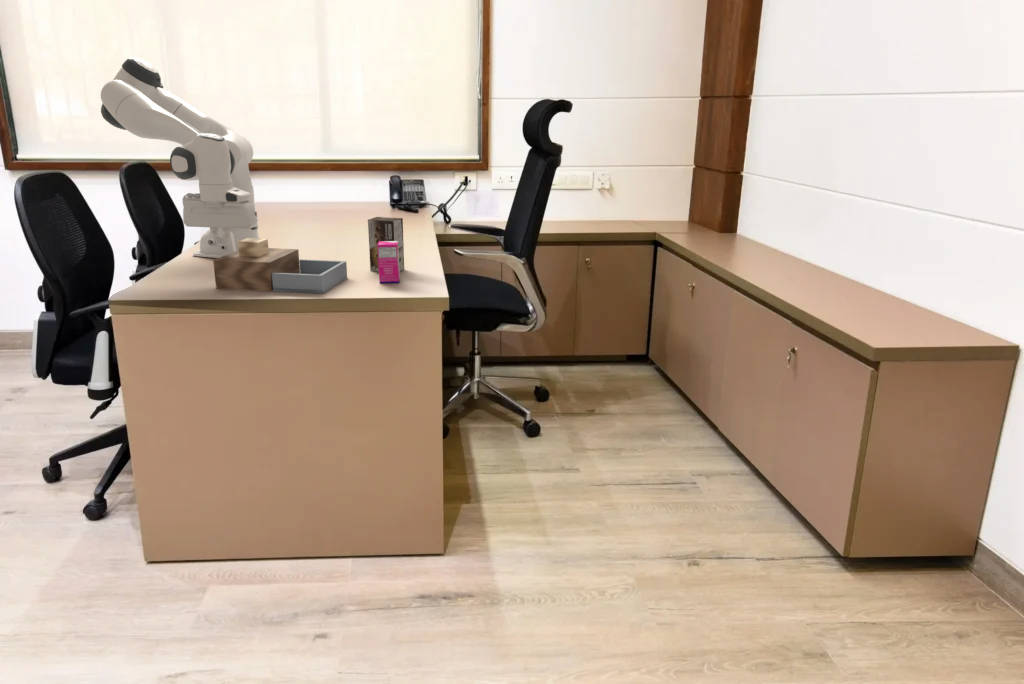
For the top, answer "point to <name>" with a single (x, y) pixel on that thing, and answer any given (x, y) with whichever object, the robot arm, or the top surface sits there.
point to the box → (311, 277)
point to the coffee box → (385, 238)
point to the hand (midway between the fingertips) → (221, 243)
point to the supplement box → (388, 262)
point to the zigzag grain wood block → (254, 269)
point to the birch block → (253, 247)
